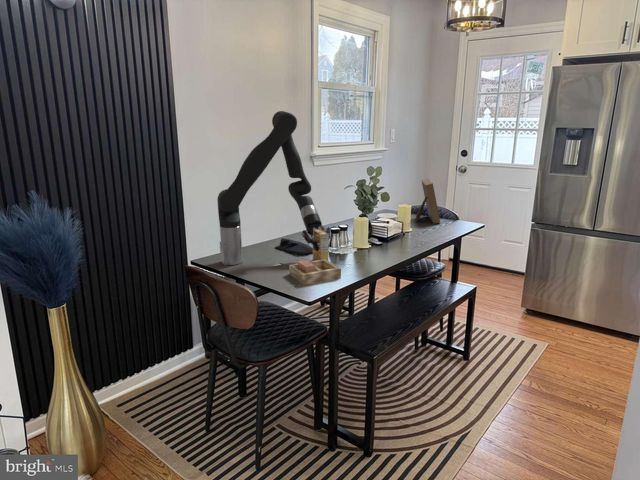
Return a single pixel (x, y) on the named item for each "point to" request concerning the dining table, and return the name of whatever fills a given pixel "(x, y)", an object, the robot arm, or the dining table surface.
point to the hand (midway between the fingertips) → (322, 249)
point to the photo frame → (429, 202)
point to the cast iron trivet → (294, 247)
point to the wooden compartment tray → (316, 272)
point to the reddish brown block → (306, 266)
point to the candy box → (321, 245)
